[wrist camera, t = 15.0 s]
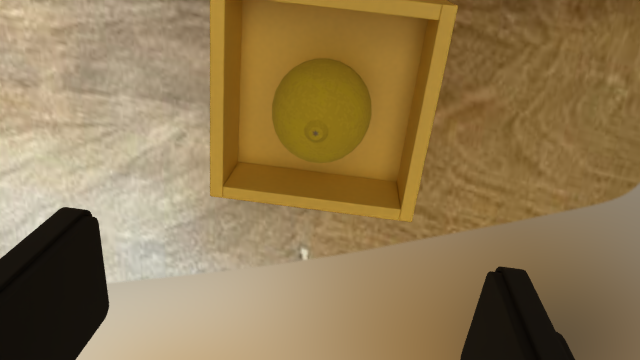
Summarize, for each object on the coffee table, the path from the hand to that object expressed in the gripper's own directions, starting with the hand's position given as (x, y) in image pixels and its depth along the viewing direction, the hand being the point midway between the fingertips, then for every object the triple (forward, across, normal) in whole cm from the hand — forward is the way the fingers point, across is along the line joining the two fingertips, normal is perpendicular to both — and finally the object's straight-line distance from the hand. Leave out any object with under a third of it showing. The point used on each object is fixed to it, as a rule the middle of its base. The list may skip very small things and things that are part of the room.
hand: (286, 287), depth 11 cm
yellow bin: (+21, +1, +1) cm, 21 cm away
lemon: (+21, +1, +1) cm, 21 cm away
